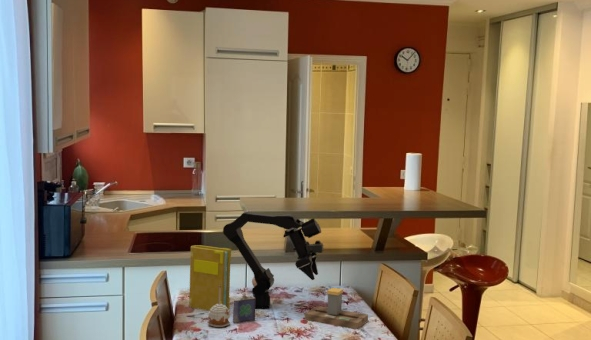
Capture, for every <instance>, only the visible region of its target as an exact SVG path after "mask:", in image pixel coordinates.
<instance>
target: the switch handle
mask: <svg viewBox="0 0 591 340" xmlns="http://www.w3.org/2000/svg"><path fill="white" fill-rule="evenodd" d="M343 293H344V289H343V288H337V287H331V288H329V289H328V290H326V294H327V307H326V308H327V314H332V315H339V313H341V310H342V309H343V308H342V303H343Z"/></svg>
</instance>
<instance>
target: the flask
mask: <svg viewBox="0 0 591 340" xmlns="http://www.w3.org/2000/svg"><path fill="white" fill-rule="evenodd" d="M255 305H256V298H255V297H253V296H250V295H249V296H247V294H246V293H242V296H241V297H240V298H235V299H233V307H232V308H233V312H232V313H233V315H232V316H233V317H232V322H233V323H234V324H241V323H246V322H254V321H255V319H256V309H255Z"/></svg>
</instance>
